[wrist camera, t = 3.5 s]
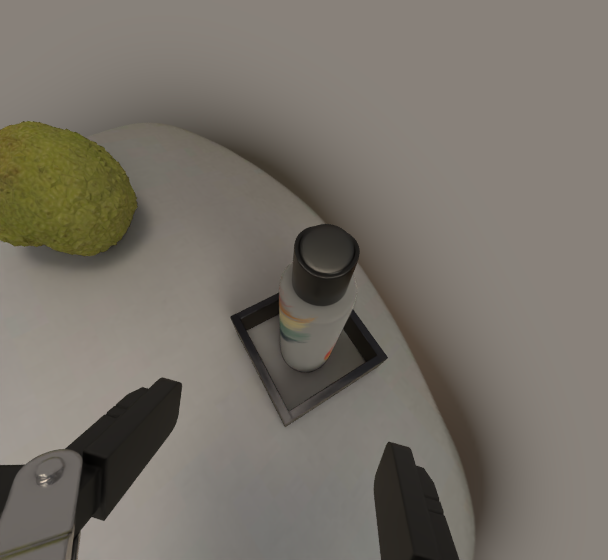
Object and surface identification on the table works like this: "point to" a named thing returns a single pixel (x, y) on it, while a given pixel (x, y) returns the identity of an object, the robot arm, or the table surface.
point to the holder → (373, 360)
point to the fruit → (61, 191)
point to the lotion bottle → (316, 295)
